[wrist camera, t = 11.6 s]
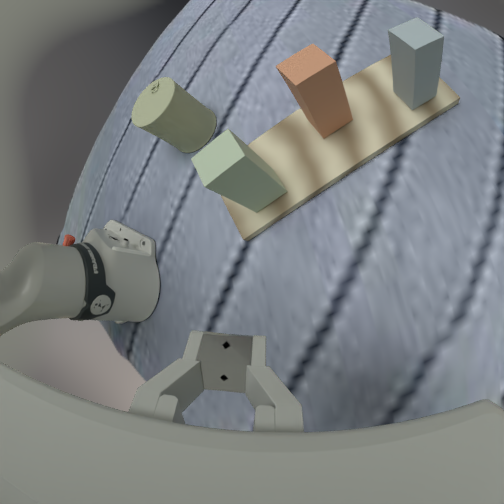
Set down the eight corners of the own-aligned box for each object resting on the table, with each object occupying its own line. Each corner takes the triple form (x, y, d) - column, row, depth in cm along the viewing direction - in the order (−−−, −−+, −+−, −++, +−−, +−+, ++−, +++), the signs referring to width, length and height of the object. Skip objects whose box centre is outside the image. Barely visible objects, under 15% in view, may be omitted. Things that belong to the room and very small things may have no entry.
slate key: (412, 110, 29) (415, 49, 18) (393, 91, 30) (387, 29, 19) (436, 95, 27) (443, 36, 16) (416, 77, 28) (417, 17, 17)
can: (218, 103, 45) (177, 67, 34) (214, 146, 44) (167, 114, 33) (178, 116, 49) (135, 88, 38) (172, 157, 48) (124, 133, 37)
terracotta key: (323, 138, 34) (295, 85, 23) (307, 119, 35) (275, 66, 24) (352, 119, 32) (335, 61, 22) (335, 101, 34) (312, 43, 23)
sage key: (256, 212, 37) (204, 186, 26) (243, 189, 38) (191, 158, 28) (287, 191, 36) (245, 155, 25) (272, 168, 37) (228, 128, 26)
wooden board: (248, 241, 39) (241, 239, 38) (215, 177, 43) (208, 173, 41) (458, 103, 27) (460, 96, 25) (404, 53, 30) (404, 46, 29)
